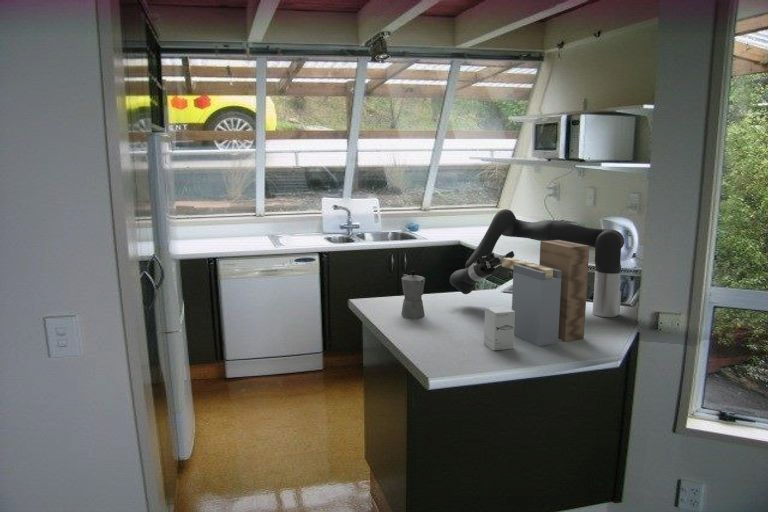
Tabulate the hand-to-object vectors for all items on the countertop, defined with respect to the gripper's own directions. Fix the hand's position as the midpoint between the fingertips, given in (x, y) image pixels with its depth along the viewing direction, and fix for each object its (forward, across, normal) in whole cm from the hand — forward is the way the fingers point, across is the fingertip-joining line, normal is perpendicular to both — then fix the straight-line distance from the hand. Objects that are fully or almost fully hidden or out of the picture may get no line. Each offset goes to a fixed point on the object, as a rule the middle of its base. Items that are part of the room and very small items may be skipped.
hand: (503, 254), depth 202 cm
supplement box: (+6, -16, +34) cm, 38 cm away
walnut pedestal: (+4, +11, +32) cm, 34 cm away
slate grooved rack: (+4, 0, +32) cm, 32 cm away
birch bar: (+10, 0, +10) cm, 14 cm away
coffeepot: (-33, -26, +11) cm, 44 cm away
